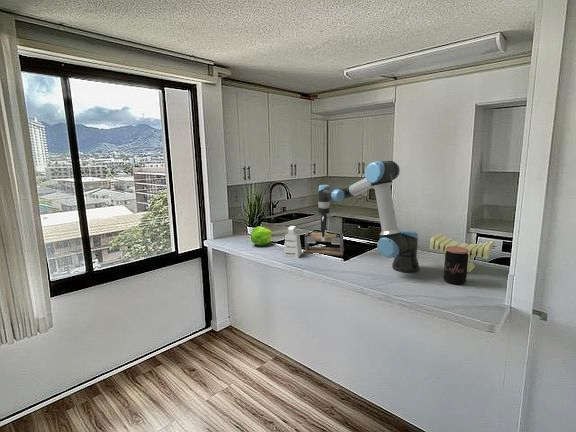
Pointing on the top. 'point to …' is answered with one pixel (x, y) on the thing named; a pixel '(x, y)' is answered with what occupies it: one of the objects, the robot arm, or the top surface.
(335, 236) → the rail
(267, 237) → the lettuce
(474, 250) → the slatted curved stool
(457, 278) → the coffee jar
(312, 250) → the bracket stand
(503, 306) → the top surface
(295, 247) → the grater
